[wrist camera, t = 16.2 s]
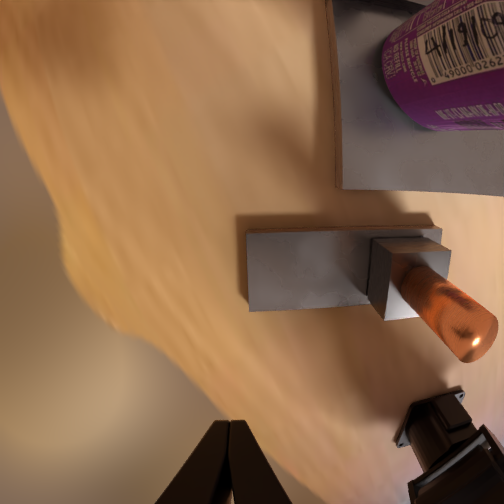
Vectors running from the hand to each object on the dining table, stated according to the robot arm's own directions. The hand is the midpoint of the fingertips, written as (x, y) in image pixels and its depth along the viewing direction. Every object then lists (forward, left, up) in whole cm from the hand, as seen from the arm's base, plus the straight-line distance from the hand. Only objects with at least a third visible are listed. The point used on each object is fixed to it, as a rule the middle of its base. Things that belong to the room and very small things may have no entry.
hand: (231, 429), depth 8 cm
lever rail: (0, -7, -13) cm, 15 cm away
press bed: (+12, -13, -13) cm, 22 cm away
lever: (0, -10, -12) cm, 16 cm away
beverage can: (+12, -12, -12) cm, 21 cm away
